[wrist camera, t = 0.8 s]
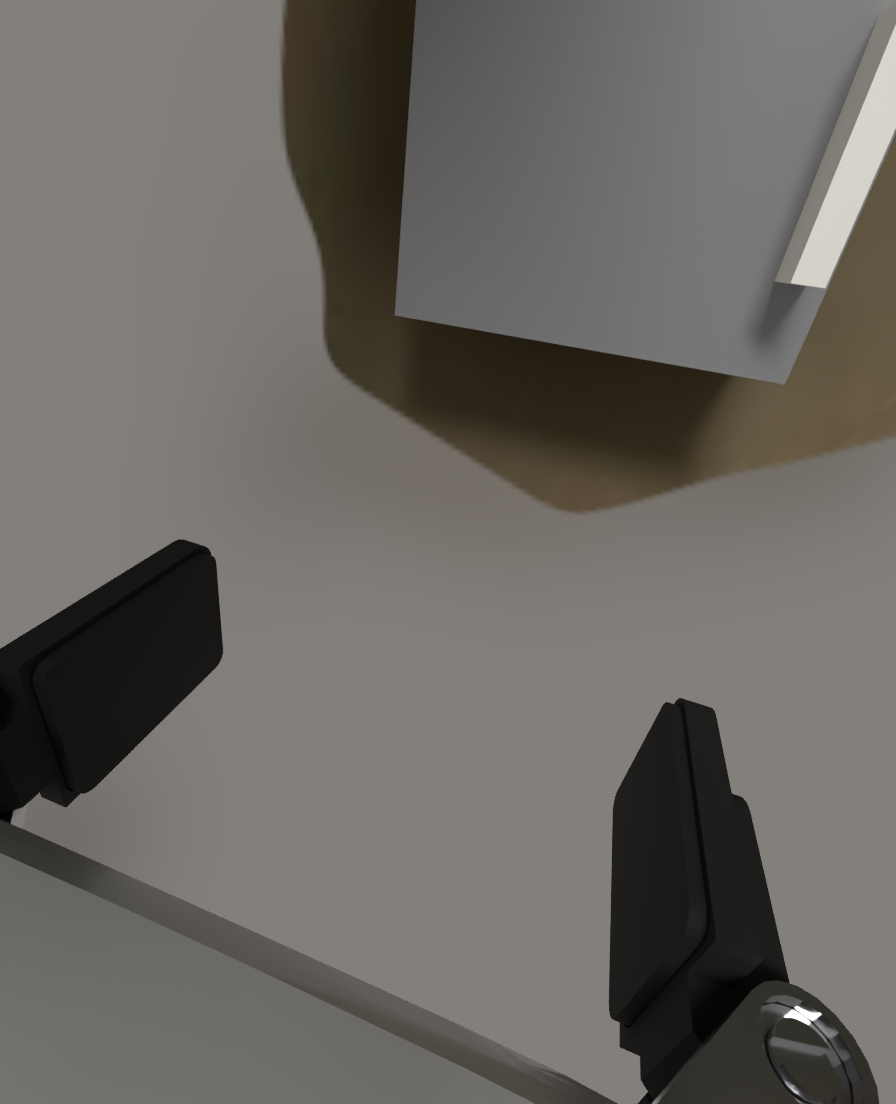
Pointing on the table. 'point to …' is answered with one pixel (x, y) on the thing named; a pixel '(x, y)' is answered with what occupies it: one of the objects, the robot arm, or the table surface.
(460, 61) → the lid
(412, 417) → the table surface
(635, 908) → the robot arm
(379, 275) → the table surface
